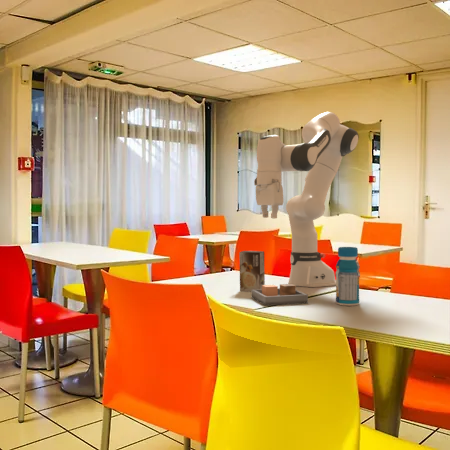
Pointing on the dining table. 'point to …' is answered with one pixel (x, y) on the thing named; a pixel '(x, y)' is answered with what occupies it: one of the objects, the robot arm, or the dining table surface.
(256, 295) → the tray
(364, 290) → the dining table surface
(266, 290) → the terracotta block
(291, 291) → the walnut block
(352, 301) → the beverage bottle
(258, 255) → the coffee box
